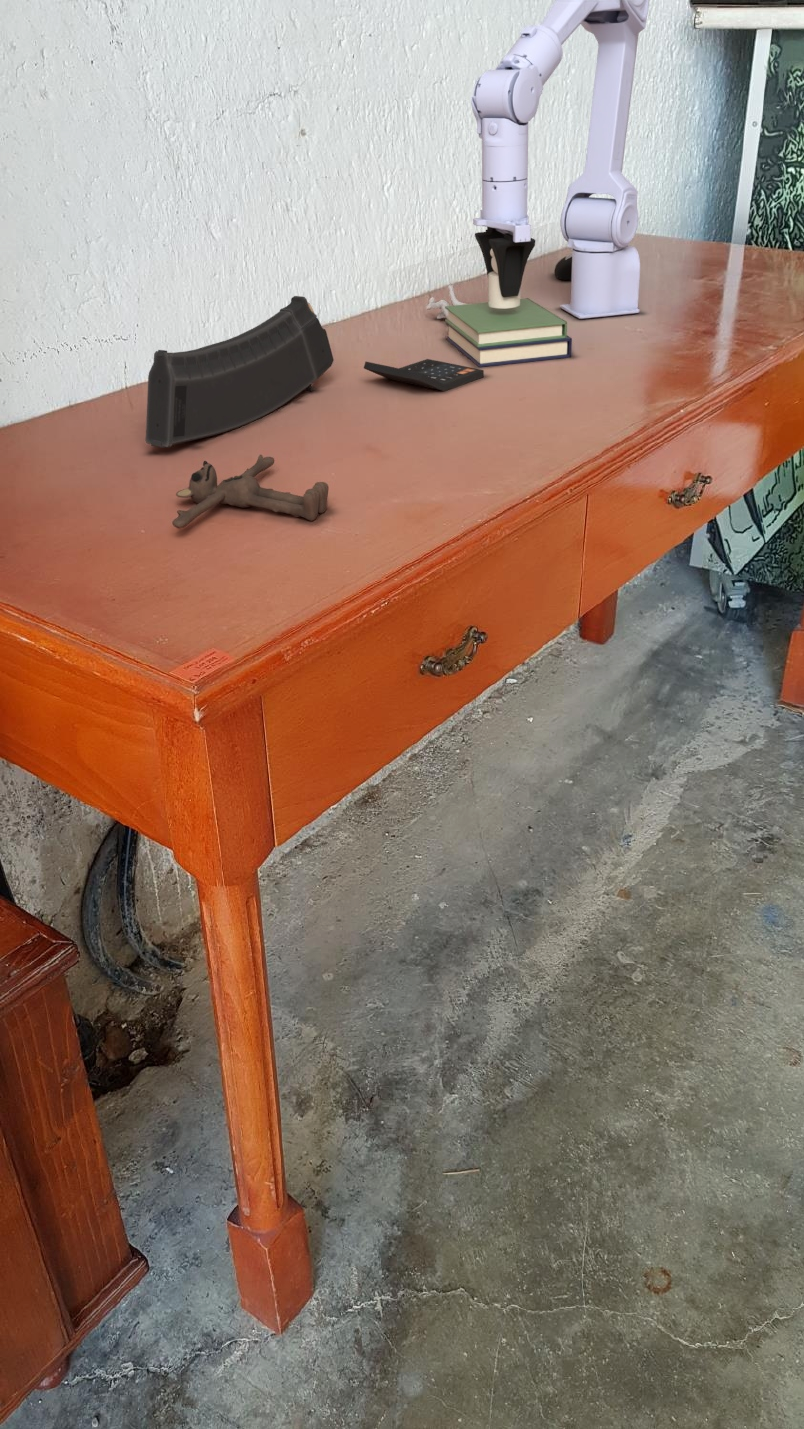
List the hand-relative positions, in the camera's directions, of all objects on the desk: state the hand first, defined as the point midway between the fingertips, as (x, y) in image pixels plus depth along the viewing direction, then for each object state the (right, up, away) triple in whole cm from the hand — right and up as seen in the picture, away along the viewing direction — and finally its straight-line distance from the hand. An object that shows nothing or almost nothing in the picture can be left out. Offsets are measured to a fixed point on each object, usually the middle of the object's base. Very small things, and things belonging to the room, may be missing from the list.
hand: (504, 292), depth 150 cm
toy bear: (0, -1, +1) cm, 2 cm away
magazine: (-31, -21, -18) cm, 42 cm away
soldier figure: (-5, +1, +15) cm, 16 cm away
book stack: (+1, -6, +4) cm, 7 cm away
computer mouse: (+18, +17, +41) cm, 48 cm away
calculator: (-11, -14, -9) cm, 20 cm away
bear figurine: (-27, -36, -42) cm, 62 cm away
